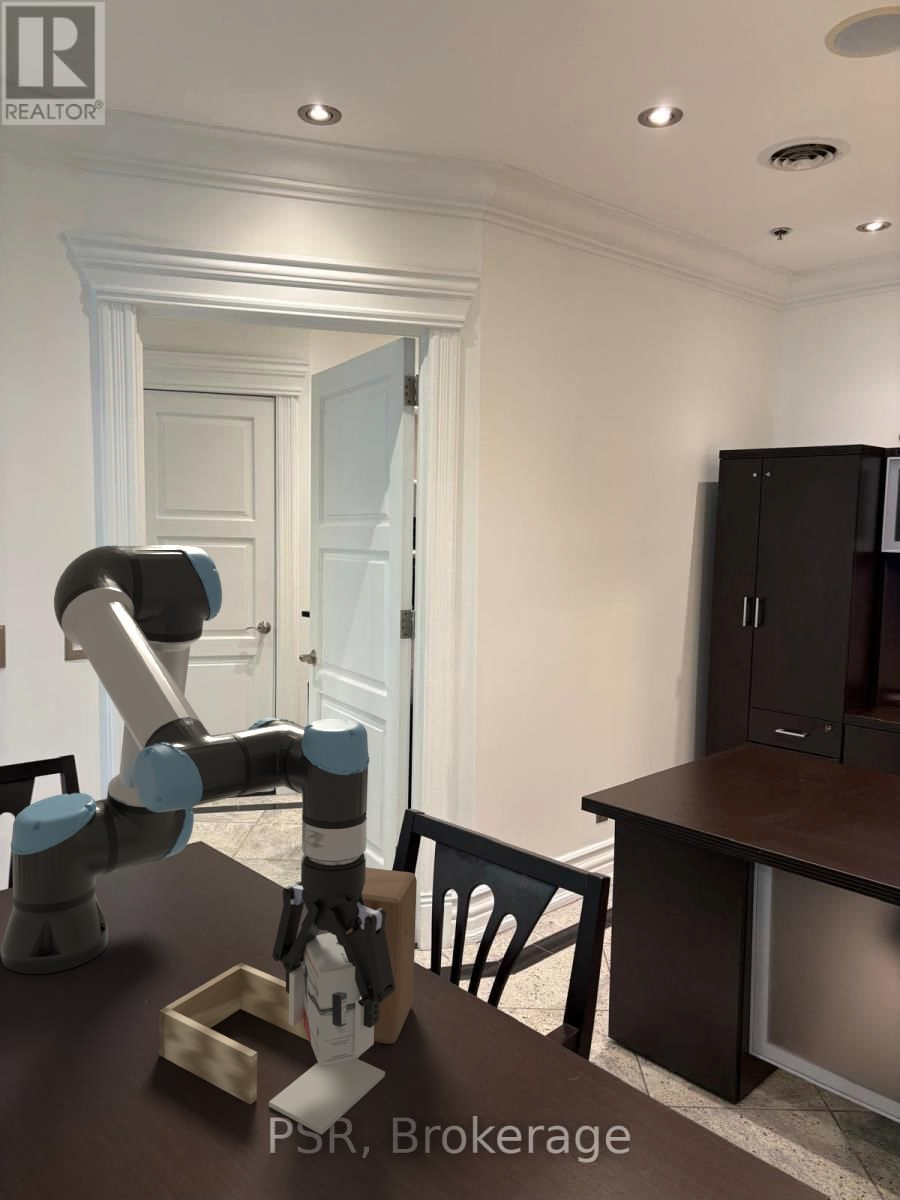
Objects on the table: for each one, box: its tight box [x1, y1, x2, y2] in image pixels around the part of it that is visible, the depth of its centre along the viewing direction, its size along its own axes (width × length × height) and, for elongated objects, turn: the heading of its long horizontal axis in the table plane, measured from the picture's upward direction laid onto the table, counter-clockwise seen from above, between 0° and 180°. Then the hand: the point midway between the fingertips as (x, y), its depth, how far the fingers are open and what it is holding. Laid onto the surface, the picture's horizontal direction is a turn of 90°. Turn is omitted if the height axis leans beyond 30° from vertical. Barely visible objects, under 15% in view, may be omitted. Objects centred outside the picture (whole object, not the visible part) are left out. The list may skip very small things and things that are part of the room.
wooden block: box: [327, 866, 418, 1045], centre depth 115 cm, size 10×10×20 cm
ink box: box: [303, 932, 360, 1066], centre depth 100 cm, size 8×5×12 cm, turn 23°
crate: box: [158, 962, 310, 1105], centre depth 108 cm, size 16×14×6 cm
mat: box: [268, 1058, 386, 1136], centre depth 101 cm, size 8×12×1 cm, turn 148°
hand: (330, 1033), depth 100 cm, fingers closed on ink box, 9 cm apart
